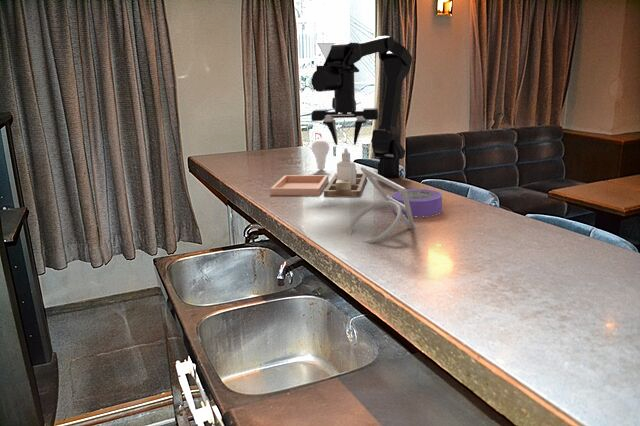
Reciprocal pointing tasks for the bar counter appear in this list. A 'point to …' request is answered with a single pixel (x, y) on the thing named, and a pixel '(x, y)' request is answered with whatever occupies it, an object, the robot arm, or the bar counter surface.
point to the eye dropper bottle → (346, 168)
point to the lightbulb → (320, 152)
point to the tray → (300, 185)
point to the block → (343, 185)
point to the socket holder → (354, 191)
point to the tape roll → (421, 202)
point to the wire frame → (389, 201)
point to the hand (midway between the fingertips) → (345, 144)
